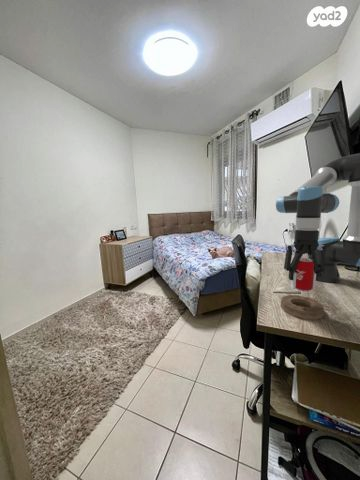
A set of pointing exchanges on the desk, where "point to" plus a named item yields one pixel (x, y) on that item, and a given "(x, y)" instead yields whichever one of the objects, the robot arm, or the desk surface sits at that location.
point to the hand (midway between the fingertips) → (302, 288)
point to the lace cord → (286, 291)
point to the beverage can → (304, 274)
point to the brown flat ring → (311, 312)
